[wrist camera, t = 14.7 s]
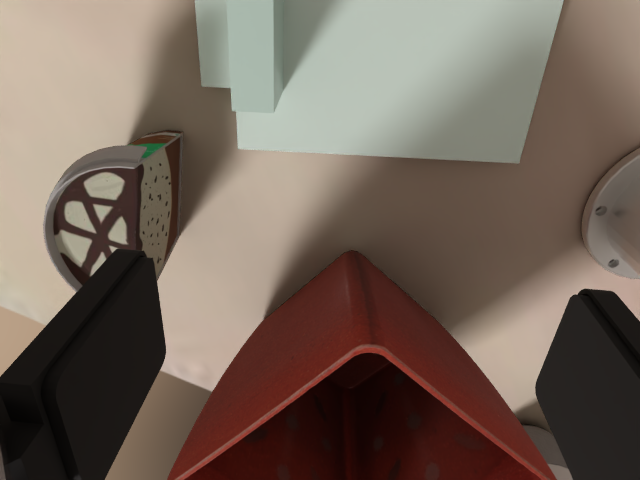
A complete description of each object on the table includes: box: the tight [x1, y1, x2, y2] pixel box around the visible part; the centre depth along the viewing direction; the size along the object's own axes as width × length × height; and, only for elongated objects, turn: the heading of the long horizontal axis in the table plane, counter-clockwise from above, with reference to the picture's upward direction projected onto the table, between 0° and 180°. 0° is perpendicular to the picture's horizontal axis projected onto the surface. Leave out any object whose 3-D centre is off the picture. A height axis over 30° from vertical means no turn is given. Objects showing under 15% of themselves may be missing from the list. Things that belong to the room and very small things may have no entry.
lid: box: [195, 0, 564, 164], centre depth 28 cm, size 23×15×8 cm, turn 87°
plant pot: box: [167, 251, 557, 480], centre depth 37 cm, size 19×19×17 cm
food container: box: [43, 130, 183, 292], centre depth 33 cm, size 12×6×10 cm, turn 170°
